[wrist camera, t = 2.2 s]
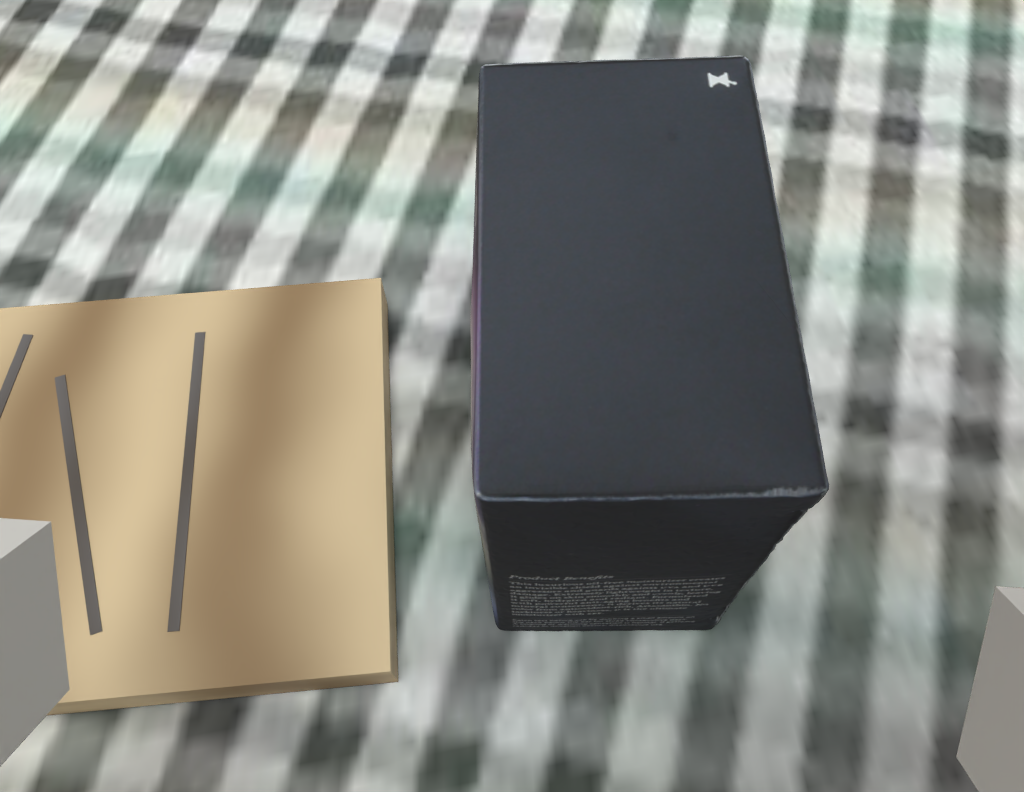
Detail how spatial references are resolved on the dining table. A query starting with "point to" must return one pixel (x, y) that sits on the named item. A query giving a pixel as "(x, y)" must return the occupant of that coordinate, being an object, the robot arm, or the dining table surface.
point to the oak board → (208, 488)
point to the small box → (631, 345)
